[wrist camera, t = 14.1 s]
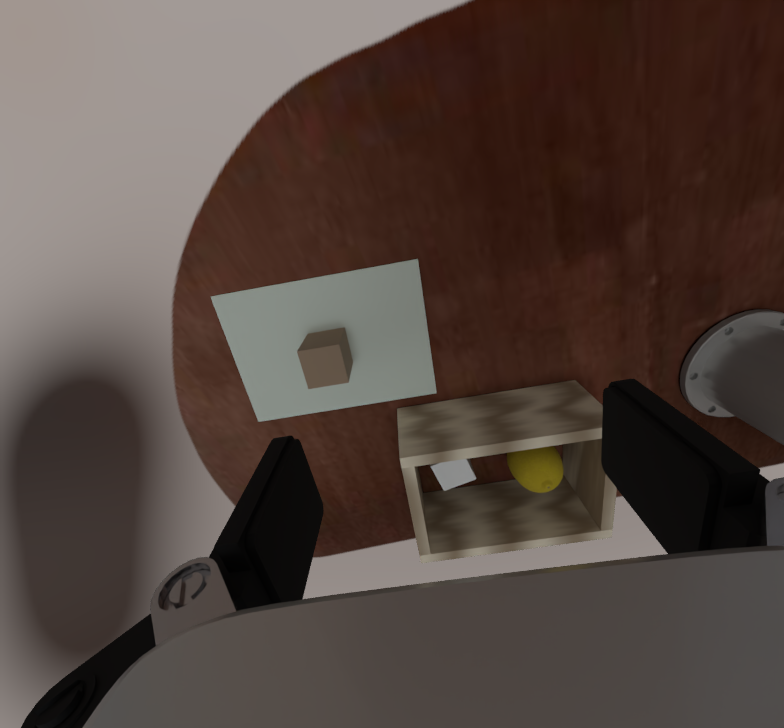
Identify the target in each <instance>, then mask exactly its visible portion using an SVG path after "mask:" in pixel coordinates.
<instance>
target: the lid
mask: <svg viewBox="0 0 784 728" xmlns="http://www.w3.org/2000/svg"><path fill="white" fill-rule="evenodd" d="M211 300H212V302H213V305H214V307H215V310H216V313H217V315H218V318H219V320H220V323H221V326H222V328H223V331H224V333H225V336H226V339H227V341H228V344H229V346H230V349H231V352H232V354H233V357H234V359H235V362H236V365H237V367H238V370H239V372H240V375H241V378H242V380H243V383H244V385H245V388H246V391H247V393H248V396H249V398H250V401H251V404H252V406H253V409H254V411H255V414H256V417H257V419H258V422H260V421H267V420H273V419H279V418H285V417H291V416H298V415H304V414H310V413H316V412H323V411H329V410H335V409H341V408H347V407H354V406H360V405H366V404H372V403H379V402H385V401H391V400H397V399H404V398H410V397H416V396H422V395H428V394H435V393H437V392H436V385H435V378H434V371H433V363H432V356H431V349H430V342H429V335H428V328H427V321H426V314H425V306H424V299H423V292H422V285H421V278H420V271H419V264H418V259H414V260H409V261H403V262H398V263H392V264H387V265H381V266H376V267H370V268H365V269H359V270H354V271H348V272H343V273H337V274H332V275H326V276H321V277H315V278H310V279H304V280H299V281H293V282H288V283H282V284H277V285H271V286H265V287H260V288H254V289H249V290H243V291H238V292H232V293H227V294H221V295H216V296H211Z"/></svg>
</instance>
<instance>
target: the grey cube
mask: <svg viewBox="0 0 784 728" xmlns="http://www.w3.org/2000/svg"><path fill="white" fill-rule="evenodd" d="M430 467H431V468H432V470H433V472H434V474H435V476H436V477H437V479H438V481H439V483H440V485H441V486H442V488H443V490H444V491H446V490H449V489H451V488H454V487H457V486H459V485H462V484H464V483H467V482H470V481H472V480H475V479H476V476H475V473H474V470H473V467H472V464H471V461H470V458H468V459H462V460H455V461H448V462H442V463H435V464H430Z"/></svg>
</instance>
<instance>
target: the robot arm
mask: <svg viewBox="0 0 784 728" xmlns="http://www.w3.org/2000/svg"><path fill="white" fill-rule="evenodd" d="M680 387H681V391H682V394H683V396H684V398H685V400H686V401H687V402H688V403H689V404H690V405H691V406H692V407H694V408H696V409H697V410H699V411H700V412H702V413H704V414H706V415H710V416H715V417H732V416H736V417H738V418H739V419H741V420H743V421H744V422H746V423H748V424H749V425H751V426H753V427H754V428H756V429H758V430H759V431H761V432H763V433H764V434H766V435H768V436H769V437H771V438H773V439H774V440H776V441H778V442H779V443H781V444H783V445H784V313H782V312H778V311H773V310H768V309H757V310H751V311H745V312H742V313H739V314H736V315H733V316H731V317H729V318H727V319H725V320H723V321H721V322H720V323H718V324H717V325H715V326H714V327H712V328H711V329H710V330H709V331H707V332H706V333H705V334H704V335H703V336H702V337H701V338H700V339H699V340H698V341H697V342H696V344H695V345H694V346H693V347H692V349H691V350H690V352H689V353H688V355H687V356H686V359H685V361H684V363H683V366H682V369H681V374H680ZM601 464H602V468H603V470H604V472H605V474H606V475H607V476H608V478H609V479H610V480H611V481H612V483H613V484H614V485H615V487H616V488H617V489H618V490H619V492H620V493H621V494H622V496H623V497H624V498H625V499H626V501H627V502H628V503H629V504H630V506H631V507H632V508H633V510H634V511H635V512H636V513H637V515H638V516H639V517H640V518H641V520H642V521H643V522H644V524H645V525H646V526H647V527H648V529H649V530H650V531H651V532H652V534H653V535H654V536H655V537H656V539H657V540H658V542H659V543H660V544H661V545H662V547H663V548H664V549H665V550H666V552H667V553H668V554H666V555H656V556H647V557H638V558H630V559H621V560H613V561H604V562H596V563H587V564H578V565H570V566H561V567H553V568H544V569H536V570H529V571H520V572H512V573H503V574H495V575H487V576H479V577H471V578H463V579H455V580H446V581H440V582H439V581H438V582H430V583H423V584H415V585H407V586H400V587H391V588H384V589H377V590H368V591H361V592H353V593H345V594H337V595H330V596H323V597H316V598H310V599H303V600H302V598H303V594H304V590H305V586H306V582H307V578H308V574H309V570H310V566H311V562H312V558H313V553H314V549H315V545H316V541H317V537H318V533H319V529H320V525H321V521H322V517H323V503H322V500H321V497H320V494H319V492H318V489H317V486H316V484H315V481H314V478H313V475H312V473H311V470H310V467H309V464H308V462H307V459H306V456H305V453H304V451H303V448H302V445H301V443H300V441H299V440H298V439H294V438H293V437H292V436H285V437H279V438H274V439H273V440H272V441H271V443H270V444H269V446H268V448H267V450H266V452H265V454H264V455H263V457H262V459H261V461H260V463H259V465H258V467H257V468H256V470H255V472H254V474H253V476H252V478H251V479H250V481H249V483H248V485H247V487H246V489H245V490H244V492H243V494H242V496H241V498H240V500H239V502H238V503H237V505H236V507H235V509H234V511H233V513H232V515H231V516H230V518H229V520H228V522H227V524H226V526H225V527H224V529H223V531H222V533H221V535H220V536H219V538H218V540H217V542H216V544H215V546H214V549H213V551H212V553H211V554H210V556H209V558H208V557H202V558H196V559H193V560H190V561H188V562H186V563H184V564H182V565H181V566H179V567H178V568H176V569H175V570H174V571H172V572H171V573H170V574H169V575H168V576H167V577H166V578H165V579H164V580H163V581H162V582H161V583H160V585H159V586H158V587H157V589H156V590H155V592H154V594H153V597H152V599H151V605H150V610H151V614H149V615H148V616H147V617H145V618H144V619H143V620H141V621H140V622H139V623H137V624H136V625H135V626H133V627H132V628H131V629H129V630H128V631H126V632H125V633H124V634H122V635H121V636H120V637H118V638H117V639H116V640H114V641H113V642H112V643H110V644H109V645H108V646H106V647H105V648H104V649H102V650H101V651H99V652H98V653H97V654H96V655H94V656H93V657H91V658H90V659H89V660H87V661H86V662H85V663H83V664H82V665H81V666H79V667H78V668H77V669H75V670H74V671H72V672H71V673H70V674H68V675H67V676H66V677H65V678H63V679H62V680H61V681H59V682H58V683H57V684H56V685H55V686H53V687H52V688H51V689H50V690H49V691H48V692H47V693H46V694H45V695H44V696H43V697H42V698H41V699H40V700H39V702H38V703H37V704H36V705H35V707H34V708H33V709H32V711H31V712H30V713H29V715H28V716H27V718H26V719H25V721H24V723H23V725H22V727H21V728H784V477H783V478H778V479H774V480H772V481H771V482H770V481H768V480H767V479H766V478H764V477H763V476H762V475H760V474H759V473H760V469H758V468H757V467H756V466H754V465H753V464H752V463H750V462H749V461H747V460H746V459H745V458H743V457H742V456H740V455H739V454H738V453H736V452H735V451H734V450H732V449H731V448H729V447H728V446H727V445H725V444H724V443H722V442H721V441H720V440H718V439H717V438H716V437H714V436H713V435H711V434H710V433H709V432H707V431H706V430H704V429H703V428H702V427H700V426H699V425H697V424H696V423H695V422H693V421H692V420H691V419H689V418H688V417H686V416H685V415H684V414H682V413H681V412H679V411H678V410H677V409H675V408H674V407H673V406H671V405H670V404H668V403H667V402H666V401H664V400H663V399H661V398H660V397H659V396H657V395H656V394H655V393H653V392H652V391H650V390H649V389H648V388H646V387H645V386H643V385H642V384H641V383H639V382H638V381H636V380H635V379H627V380H621V381H615V382H611V383H610V384H609V388H605V389H604V392H603V417H602V449H601Z"/></svg>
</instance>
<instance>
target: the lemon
mask: <svg viewBox="0 0 784 728" xmlns="http://www.w3.org/2000/svg"><path fill="white" fill-rule="evenodd" d="M507 462H508V466H509V468H510V471H511V473H512V475H513V476H514V478H515V479H516V480H517V481H518V482H519V483H520V484H521V485H522V486H523V487H524V488H526V489H528V490H530V491H532V492H536V493H545V492H549V491H551V490H553V489H555V488H556V487H557V486H558V485H559V484H560V482H561V480H562V478H563V472H564V469H563V464H562V460H561V457H560V455H559V453H558V451H557V450H556V448H555V447H554V446H548V447H542V448H535V449H528V450H522V451H515V452H508V453H507Z"/></svg>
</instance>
